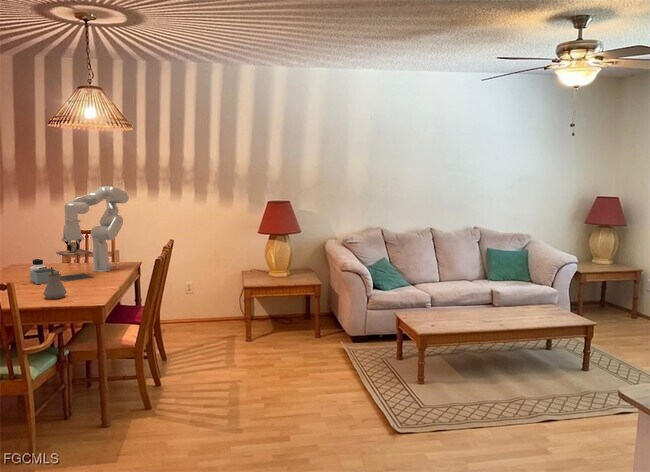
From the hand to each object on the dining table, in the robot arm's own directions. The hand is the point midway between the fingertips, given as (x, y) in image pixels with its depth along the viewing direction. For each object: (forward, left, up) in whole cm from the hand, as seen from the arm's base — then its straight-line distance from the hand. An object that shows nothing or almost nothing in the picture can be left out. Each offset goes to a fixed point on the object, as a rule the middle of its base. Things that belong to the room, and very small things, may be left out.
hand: (73, 250), depth 347 cm
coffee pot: (+27, +42, -19) cm, 54 cm away
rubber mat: (0, 0, -18) cm, 18 cm away
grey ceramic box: (+18, 0, -18) cm, 26 cm away
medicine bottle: (+16, -18, -19) cm, 31 cm away
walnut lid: (0, 0, -2) cm, 2 cm away
